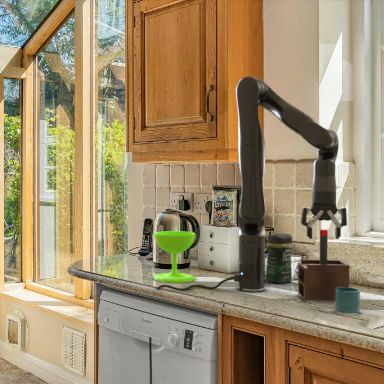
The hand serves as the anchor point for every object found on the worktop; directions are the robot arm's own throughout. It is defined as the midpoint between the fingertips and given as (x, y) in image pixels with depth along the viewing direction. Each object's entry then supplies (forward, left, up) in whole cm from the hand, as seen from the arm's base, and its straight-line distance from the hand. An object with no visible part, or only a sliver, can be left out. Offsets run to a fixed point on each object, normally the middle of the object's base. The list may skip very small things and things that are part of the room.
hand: (323, 238), depth 196 cm
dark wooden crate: (0, 0, -20) cm, 20 cm away
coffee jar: (-10, +29, -20) cm, 37 cm away
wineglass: (-50, +31, -20) cm, 62 cm away
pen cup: (+3, -19, -20) cm, 28 cm away
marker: (0, 0, -9) cm, 9 cm away
